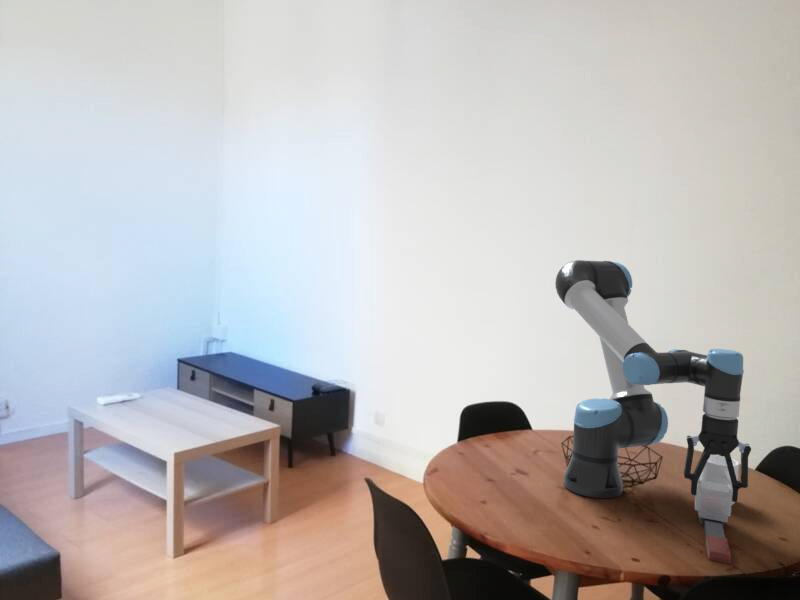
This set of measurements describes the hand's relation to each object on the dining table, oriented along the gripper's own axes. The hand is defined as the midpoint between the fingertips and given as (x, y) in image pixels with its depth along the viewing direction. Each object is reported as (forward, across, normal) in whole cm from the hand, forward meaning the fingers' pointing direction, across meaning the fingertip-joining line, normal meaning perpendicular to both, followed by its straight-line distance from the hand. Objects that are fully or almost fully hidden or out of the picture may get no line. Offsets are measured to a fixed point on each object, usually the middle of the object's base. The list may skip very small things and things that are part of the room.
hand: (712, 510), depth 146 cm
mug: (+3, +3, +15) cm, 16 cm away
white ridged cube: (+1, 0, 0) cm, 1 cm away
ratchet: (+3, 0, -9) cm, 9 cm away
